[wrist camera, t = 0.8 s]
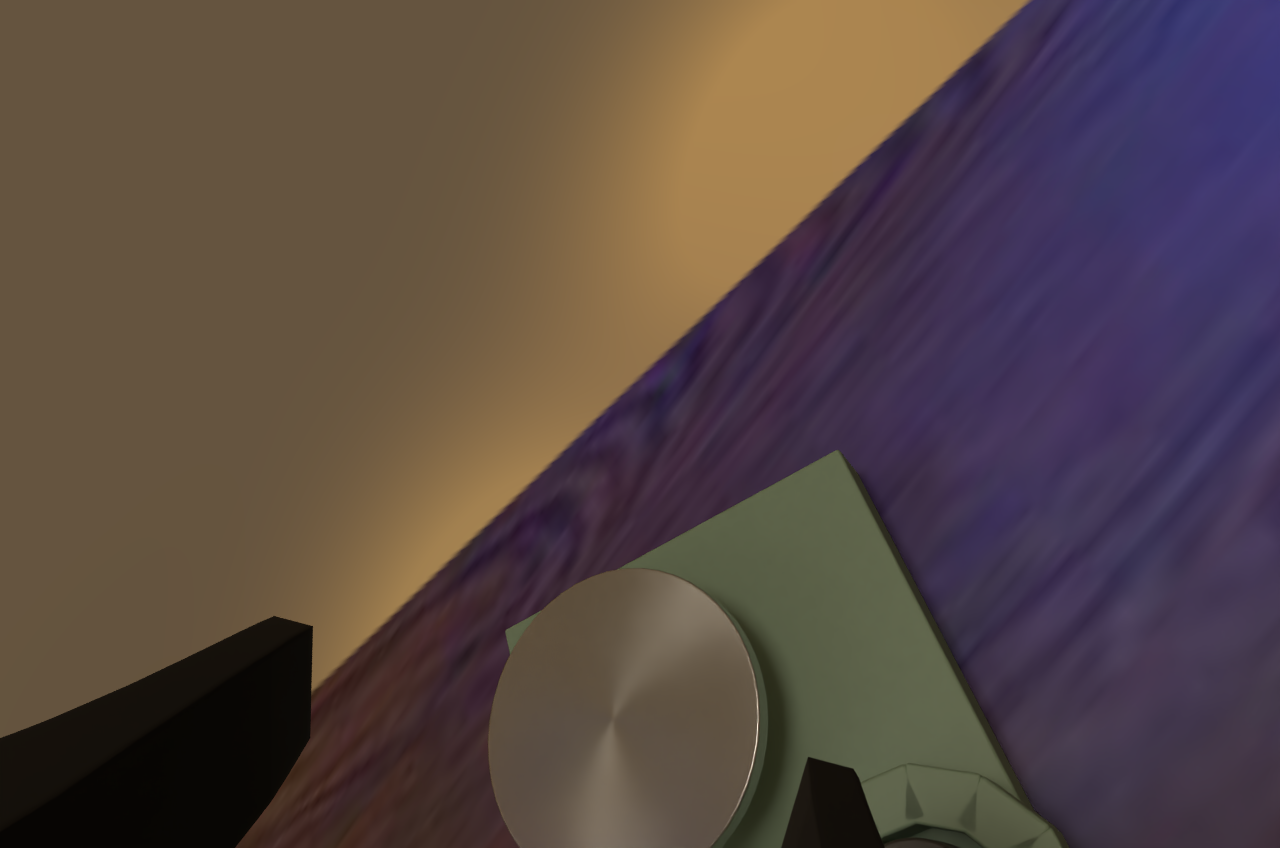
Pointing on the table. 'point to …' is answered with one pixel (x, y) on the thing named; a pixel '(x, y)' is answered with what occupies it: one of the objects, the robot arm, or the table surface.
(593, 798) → the brushed metal disc
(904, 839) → the tare button
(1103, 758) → the table surface
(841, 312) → the table surface
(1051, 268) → the table surface
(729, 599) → the scale
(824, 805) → the robot arm
